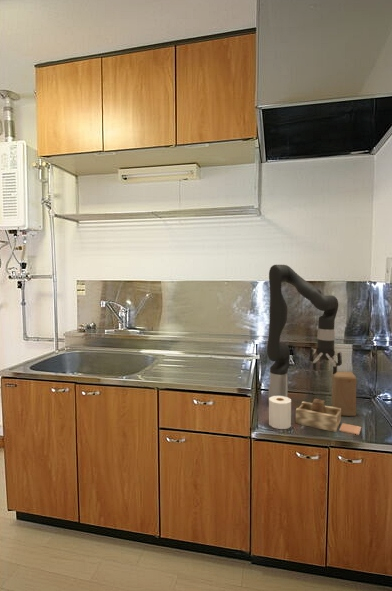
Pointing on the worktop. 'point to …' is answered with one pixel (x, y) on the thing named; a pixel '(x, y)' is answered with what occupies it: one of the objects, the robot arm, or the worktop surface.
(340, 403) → the wooden block
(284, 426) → the toilet paper
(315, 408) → the walnut block
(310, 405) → the crate
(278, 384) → the robot arm
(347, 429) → the tile
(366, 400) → the worktop surface
